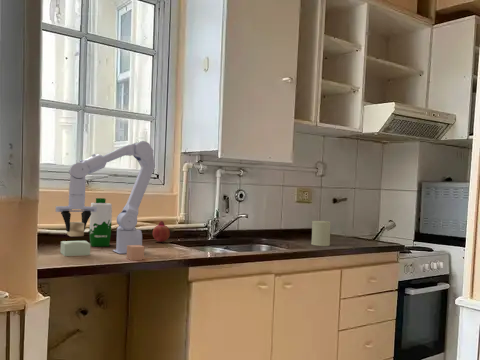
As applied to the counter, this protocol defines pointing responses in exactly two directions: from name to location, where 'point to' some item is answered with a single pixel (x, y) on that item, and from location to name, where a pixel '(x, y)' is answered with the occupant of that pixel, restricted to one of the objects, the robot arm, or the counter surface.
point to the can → (321, 233)
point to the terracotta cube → (135, 252)
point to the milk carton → (100, 223)
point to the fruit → (161, 232)
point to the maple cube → (76, 229)
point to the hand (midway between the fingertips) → (75, 231)
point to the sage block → (75, 248)
